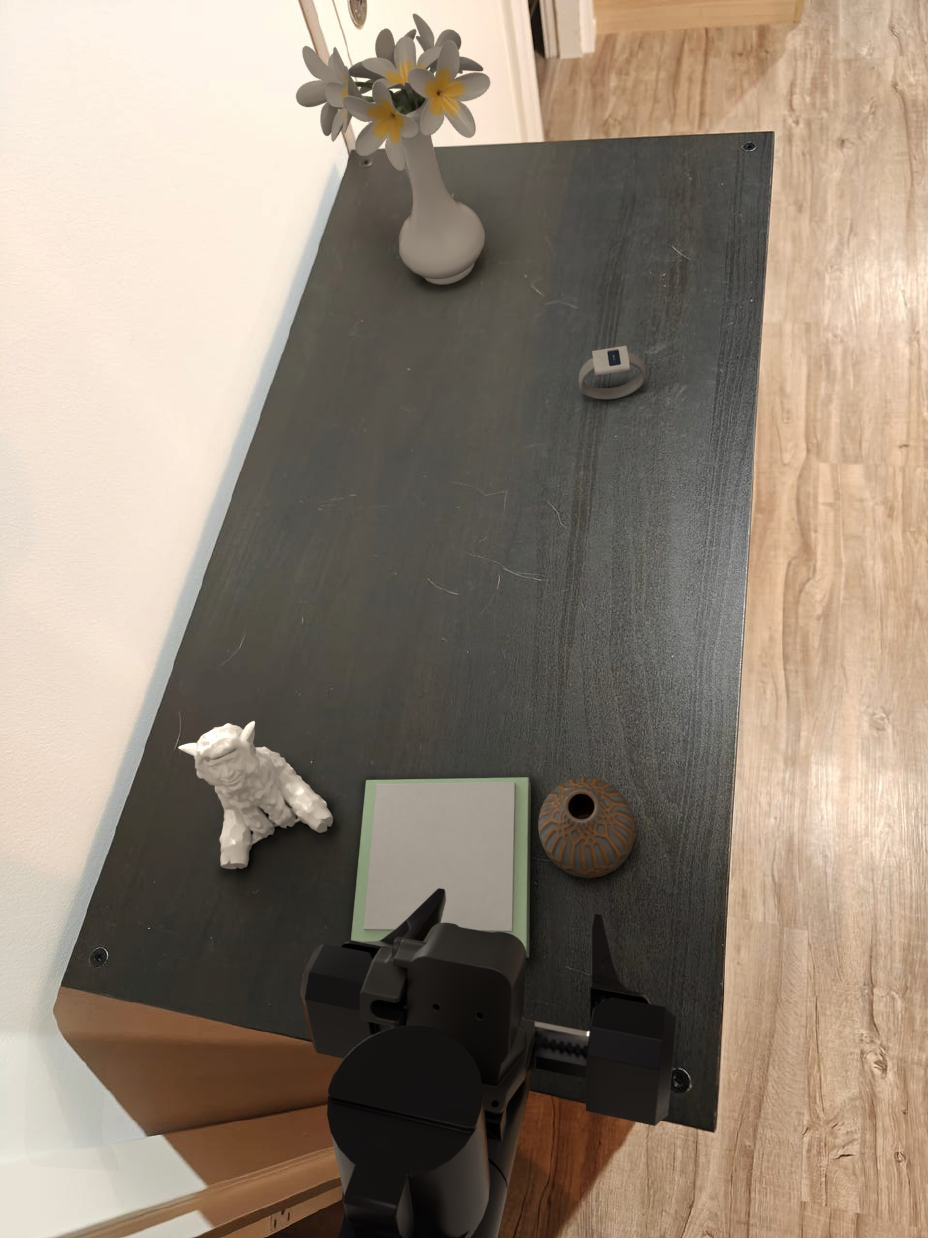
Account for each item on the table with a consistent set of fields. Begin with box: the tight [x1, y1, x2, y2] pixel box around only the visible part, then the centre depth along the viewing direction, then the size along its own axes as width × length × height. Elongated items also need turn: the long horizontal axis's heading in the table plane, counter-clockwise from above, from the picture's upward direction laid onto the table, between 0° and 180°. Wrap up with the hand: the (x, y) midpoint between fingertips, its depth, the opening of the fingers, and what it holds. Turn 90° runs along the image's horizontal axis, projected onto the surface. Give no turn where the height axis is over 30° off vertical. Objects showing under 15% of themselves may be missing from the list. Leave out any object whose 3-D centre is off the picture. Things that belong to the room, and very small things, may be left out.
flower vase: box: [295, 13, 491, 286], centre depth 92 cm, size 13×18×25 cm
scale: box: [350, 776, 532, 959], centre depth 71 cm, size 13×13×2 cm
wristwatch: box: [577, 345, 647, 400], centre depth 88 cm, size 6×3×5 cm, turn 92°
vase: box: [537, 776, 636, 879], centre depth 67 cm, size 7×7×9 cm
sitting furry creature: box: [177, 720, 334, 870], centre depth 72 cm, size 10×9×12 cm
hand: (518, 906), depth 55 cm, fingers open, 9 cm apart
